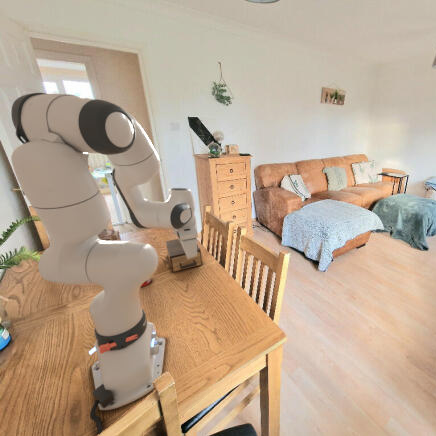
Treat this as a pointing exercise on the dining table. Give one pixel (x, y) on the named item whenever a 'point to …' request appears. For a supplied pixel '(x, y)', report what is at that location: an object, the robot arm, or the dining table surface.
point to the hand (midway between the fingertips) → (188, 257)
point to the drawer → (185, 262)
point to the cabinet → (176, 250)
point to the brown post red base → (146, 283)
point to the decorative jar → (109, 235)
